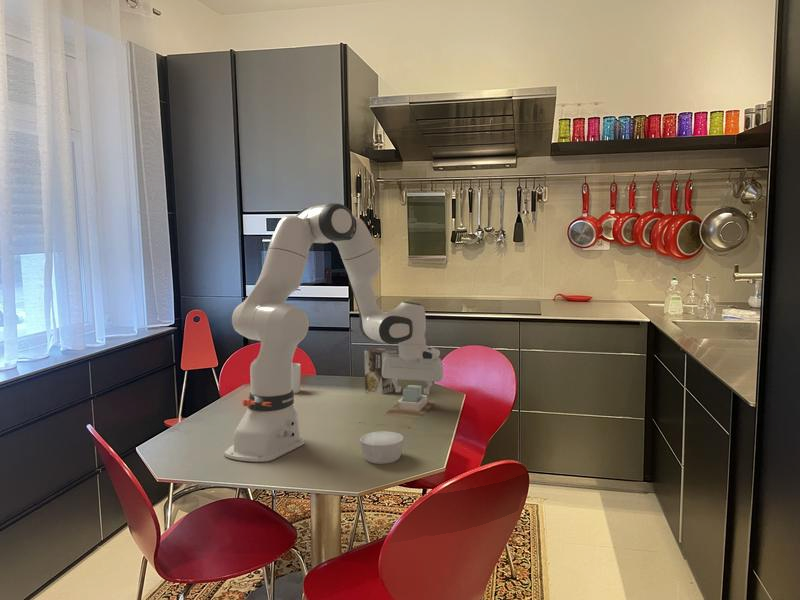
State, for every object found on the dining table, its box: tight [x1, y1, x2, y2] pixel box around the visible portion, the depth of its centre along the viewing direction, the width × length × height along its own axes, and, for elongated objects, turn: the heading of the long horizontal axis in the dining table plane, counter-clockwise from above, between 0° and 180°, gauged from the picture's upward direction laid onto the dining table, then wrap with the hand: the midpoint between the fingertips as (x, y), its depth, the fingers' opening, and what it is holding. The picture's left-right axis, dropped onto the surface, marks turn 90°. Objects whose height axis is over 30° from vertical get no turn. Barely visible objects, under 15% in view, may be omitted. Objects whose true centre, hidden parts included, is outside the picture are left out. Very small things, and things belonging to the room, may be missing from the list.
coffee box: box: [363, 347, 395, 395], centre depth 214 cm, size 9×6×16 cm
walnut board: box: [383, 399, 437, 419], centre depth 193 cm, size 20×12×1 cm, turn 163°
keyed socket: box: [396, 394, 429, 411], centre depth 195 cm, size 10×8×2 cm
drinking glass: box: [292, 362, 301, 394], centre depth 218 cm, size 7×7×10 cm
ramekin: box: [359, 430, 405, 465], centre depth 152 cm, size 11×11×5 cm
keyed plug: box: [402, 384, 423, 403], centre depth 194 cm, size 4×7×6 cm, turn 163°
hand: (412, 392), depth 194 cm, fingers open, 8 cm apart
